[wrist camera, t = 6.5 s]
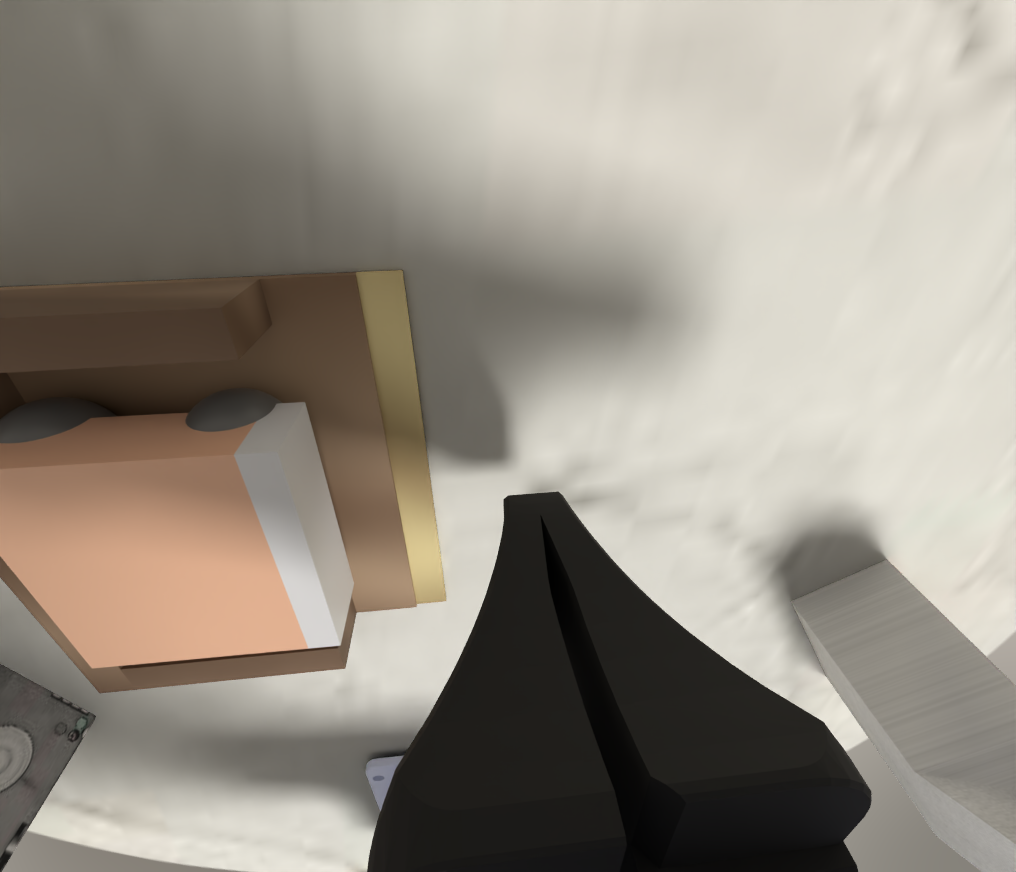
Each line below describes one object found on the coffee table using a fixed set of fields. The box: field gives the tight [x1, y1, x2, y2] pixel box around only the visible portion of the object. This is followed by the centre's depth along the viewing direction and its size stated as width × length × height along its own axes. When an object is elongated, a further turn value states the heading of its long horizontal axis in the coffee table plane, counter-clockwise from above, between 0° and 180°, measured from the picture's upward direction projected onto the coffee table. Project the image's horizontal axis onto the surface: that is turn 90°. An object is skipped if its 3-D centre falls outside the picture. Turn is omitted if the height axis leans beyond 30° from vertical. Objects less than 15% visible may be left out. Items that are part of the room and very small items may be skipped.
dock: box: [0, 270, 446, 693], centre depth 12 cm, size 11×10×2 cm
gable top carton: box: [791, 559, 1016, 872], centre depth 16 cm, size 4×7×10 cm, turn 33°
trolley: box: [0, 388, 354, 668], centre depth 12 cm, size 7×6×3 cm
